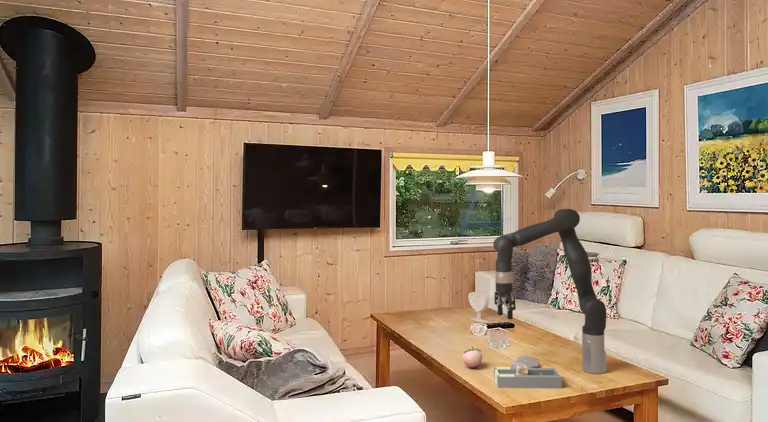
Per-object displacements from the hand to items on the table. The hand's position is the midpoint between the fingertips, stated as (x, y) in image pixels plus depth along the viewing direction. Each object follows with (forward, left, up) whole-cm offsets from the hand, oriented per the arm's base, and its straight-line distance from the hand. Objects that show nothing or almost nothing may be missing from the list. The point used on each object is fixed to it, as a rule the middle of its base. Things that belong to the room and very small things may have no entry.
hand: (505, 317), depth 227 cm
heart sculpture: (+1, -98, -26) cm, 102 cm away
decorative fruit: (+14, -6, -26) cm, 30 cm away
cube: (-5, +12, -23) cm, 26 cm away
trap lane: (-7, +12, -26) cm, 29 cm away
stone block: (-11, -8, -26) cm, 29 cm away
